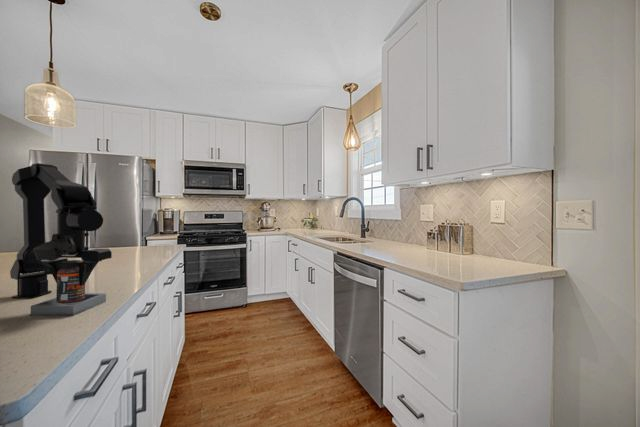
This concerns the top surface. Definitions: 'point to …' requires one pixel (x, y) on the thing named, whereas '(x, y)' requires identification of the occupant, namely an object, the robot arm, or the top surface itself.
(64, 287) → the supplement bottle
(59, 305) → the tray
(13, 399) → the top surface
